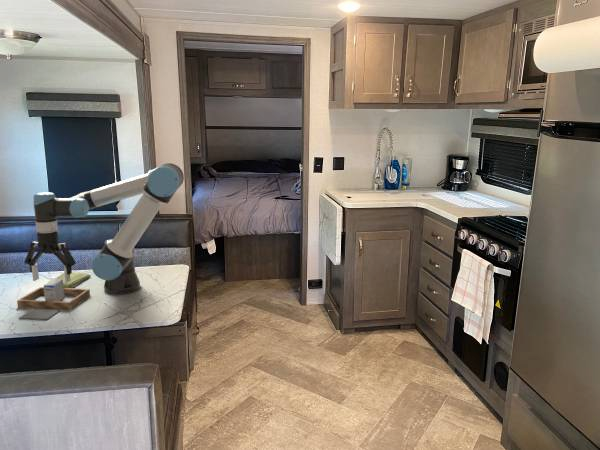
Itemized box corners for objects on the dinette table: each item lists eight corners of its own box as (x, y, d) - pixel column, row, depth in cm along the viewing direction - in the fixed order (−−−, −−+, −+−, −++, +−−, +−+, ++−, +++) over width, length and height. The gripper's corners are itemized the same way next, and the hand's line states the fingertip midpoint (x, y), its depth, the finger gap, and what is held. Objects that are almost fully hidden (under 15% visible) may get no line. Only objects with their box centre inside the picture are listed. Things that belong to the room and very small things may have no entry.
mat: (60, 310, 178) (60, 309, 178) (47, 320, 169) (46, 318, 169) (34, 309, 178) (34, 307, 178) (19, 319, 170) (19, 317, 169)
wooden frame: (90, 295, 193) (89, 289, 192) (70, 309, 178) (70, 302, 178) (41, 293, 194) (40, 287, 194) (17, 307, 180) (17, 300, 179)
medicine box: (54, 297, 190) (51, 278, 188) (64, 297, 190) (62, 278, 188) (45, 305, 182) (43, 285, 180) (56, 305, 183) (54, 285, 181)
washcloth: (92, 277, 216) (91, 271, 216) (71, 290, 199) (70, 284, 198) (66, 276, 217) (66, 269, 216) (43, 289, 200) (42, 282, 199)
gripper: (82, 230, 182) (86, 279, 187) (23, 227, 184) (28, 275, 188) (72, 234, 175) (76, 285, 180) (11, 231, 176) (16, 282, 181)
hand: (51, 280), depth 184 cm, fingers open, 13 cm apart
